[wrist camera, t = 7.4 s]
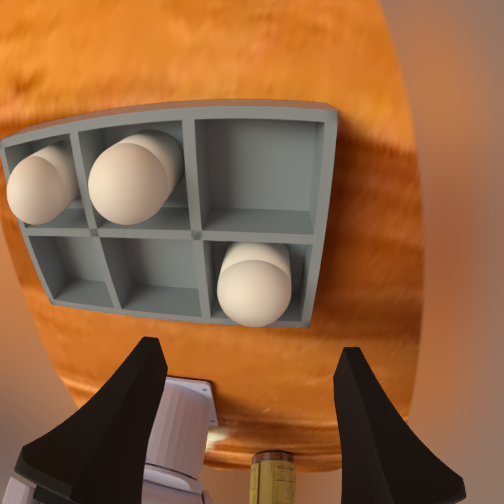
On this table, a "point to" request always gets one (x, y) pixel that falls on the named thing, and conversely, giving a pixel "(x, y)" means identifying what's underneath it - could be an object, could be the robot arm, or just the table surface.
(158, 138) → the egg
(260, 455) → the sauce bottle
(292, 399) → the table surface
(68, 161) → the egg
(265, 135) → the carton
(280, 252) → the egg
